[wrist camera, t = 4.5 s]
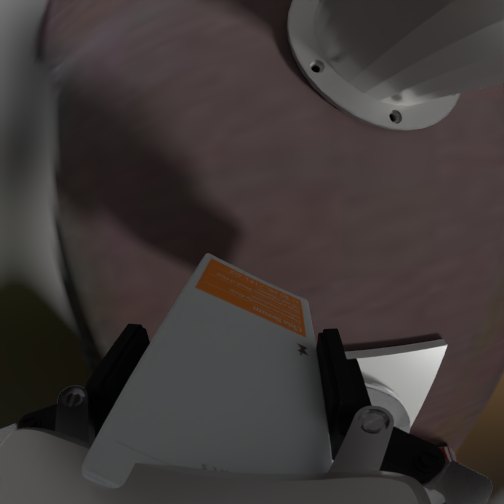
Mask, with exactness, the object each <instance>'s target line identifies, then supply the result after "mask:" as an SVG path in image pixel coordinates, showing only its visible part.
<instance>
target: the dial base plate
mask: <svg viewBox="0 0 504 504" xmlns="http://www.w3.org/2000/svg"><path fill="white" fill-rule="evenodd" d="M446 348H447V344H446V343H445V341H444V340H443V339H439V340H433V341H427V342H421V343H415V344H408V345H401V346H394V347H386V348H378V349H368V350H358V351H347V352H345V355H346V358H347V359H354V358H356V359H357V361H358V363H359V366H360V369H361V372H362V376H363V379H366V380H370V381H374V382H376V383H378V384H381V385H383V386H385V387H387V388H388V389H390V390H391V391H393V392H394V393H395V394H396V395H397V396H398V397H399V398H400V399H401V401H402V403H403V405H404V407H405V409H406V411H407V413H408V415H409V419H410V428H411V426H412V424H413V422H414V420H415V418H416V416H417V414H418V412H419V410H420V408H421V406H422V404H423V402H424V400H425V398H426V396H427V394H428V392H429V390H430V387H431V385H432V383H433V380H434V378H435V376H436V373H437V371H438V369H439V366H440V364H441V361H442V358H443V356H444V353H445V350H446Z"/></svg>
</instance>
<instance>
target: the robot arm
mask: <svg viewBox="0 0 504 504" xmlns="http://www.w3.org/2000/svg"><path fill="white" fill-rule="evenodd" d="M287 35H288V42H289V45H290V48H291V52H292V55H293V57H294V59H295V61H296V63H297V65H298V67H299V69H300V71H301V72H302V74H303V75H304V76H305V77H306V79H307V80H308V81H309V83H310V84H311V85H312V87H313V88H314V89H315V90H316V91H317V92H318V93H319V94H321V95H322V96H323V97H324V98H325V99H326V100H327V101H328V102H329V103H331V104H332V105H333V106H335V107H336V108H337V109H339V110H340V111H342V112H343V113H345V114H347V115H348V116H350V117H352V118H354V119H356V120H358V121H360V122H362V123H365V124H368V125H371V126H374V127H376V128H381V129H387V130H393V131H409V130H415V129H422V128H425V127H428V126H431V125H433V124H436V123H437V122H439V121H440V120H442V119H443V118H444V117H446V116H447V115H448V114H449V112H450V111H451V110H452V109H453V107H454V106H455V104H456V102H457V100H458V98H459V96H460V93H463V92H467V91H471V90H475V89H480V88H485V87H489V86H494V85H499V84H504V0H292V3H291V6H290V9H289V12H288V19H287ZM312 67H316V68H317V69H318V70H319V72H318V73H316V72H314V71H312V70H311V68H312ZM389 115H391V116H392V117H393V121H391V120H390V117H389ZM149 344H150V342H149V338H148V335H147V331H146V329H145V328H143V327H142V325H139V324H128V325H127V326H126V328H125V329H124V331H123V332H122V333H121V335H120V336H119V337H118V339H117V340H116V342H115V343H114V344H113V346H112V347H111V349H110V350H109V351H108V353H107V354H106V356H105V357H104V359H103V360H102V361H101V363H100V364H99V366H98V367H97V369H96V370H95V372H94V373H93V375H92V376H91V377H90V379H89V381H88V382H87V385H86V387H85V388H83V387H81V386H71V387H68V388H66V389H64V390H63V391H62V392H61V393H60V395H59V397H58V402H57V404H55V405H52V406H49V407H47V408H44V409H41V410H37V411H35V412H31V413H28V414H26V415H24V416H23V417H22V418H21V420H20V421H19V424H18V426H17V425H16V424H13V425H10V426H8V427H5V428H2V429H0V504H486V502H487V500H488V499H489V496H490V495H491V491H492V483H491V481H490V479H488V478H487V477H486V476H483V475H482V474H479V473H477V472H475V471H473V470H471V469H469V468H467V467H465V466H463V465H462V464H460V463H458V462H456V461H454V460H452V461H451V462H449V461H447V460H446V459H445V455H444V452H443V451H442V450H441V449H440V448H439V447H437V446H435V445H433V444H431V443H429V442H426V441H424V440H422V439H420V438H418V437H416V436H413V435H411V434H409V433H407V432H405V431H403V430H401V429H399V428H397V427H395V426H394V419H393V416H392V414H391V413H390V412H389V411H388V410H386V409H385V408H383V407H380V406H372V404H371V401H370V398H369V395H368V391H367V388H366V385H365V382H364V379H363V376H362V372H361V369H360V366H359V363H358V361H357V359H356V358H354V359H347V358H346V355H345V351H344V348H343V345H342V341H341V338H340V335H339V332H338V329H324V330H323V333H319V334H318V341H317V350H316V351H317V356H318V362H319V368H320V374H321V380H322V386H323V393H324V401H325V407H326V414H327V421H328V429H329V437H330V445H331V454H332V460H334V461H333V463H332V465H331V467H330V469H329V471H328V472H324V473H307V474H250V473H234V472H222V471H212V470H204V469H196V468H189V467H183V466H169V465H154V464H142V463H135V465H134V466H133V468H132V470H131V472H130V474H129V476H128V478H127V480H126V481H125V483H124V485H123V486H121V487H119V488H110V487H106V486H103V485H101V484H98V483H95V482H93V481H90V480H88V479H86V478H85V477H83V475H82V465H83V462H84V459H85V457H86V456H87V454H88V452H89V450H90V448H91V446H92V444H93V442H94V440H95V439H96V437H97V435H98V433H99V431H100V429H101V428H102V426H103V424H104V422H105V420H106V418H107V417H108V415H109V413H110V411H111V410H112V408H113V406H114V404H115V402H116V401H117V399H118V397H119V395H120V393H121V392H122V390H123V388H124V386H125V385H126V383H127V381H128V379H129V378H130V376H131V374H132V373H133V371H134V369H135V368H136V366H137V364H138V362H139V361H140V359H141V357H142V356H143V354H144V352H145V351H146V349H147V347H148V346H149Z"/></svg>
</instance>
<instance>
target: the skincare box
mask: <svg viewBox="0 0 504 504" xmlns="http://www.w3.org/2000/svg"><path fill="white" fill-rule="evenodd" d="M135 463H142V464H154V465H169V466H183V467H189V468H196V469H204V470H212V471H222V472H234V473H250V474H307V473H324V472H328V471H329V469H330V467H331V465H332V463H333V462H332V454H331V445H330V437H329V429H328V421H327V414H326V407H325V401H324V393H323V386H322V380H321V374H320V368H319V362H318V356H317V351H316V343H315V337H314V332H313V326H312V321H311V315H310V310H309V304H308V301H307V300H306V299H304V298H301V297H299V296H296V295H294V294H291V293H289V292H287V291H285V290H283V289H281V288H279V287H277V286H274V285H272V284H270V283H268V282H266V281H263V280H261V279H259V278H257V277H255V276H253V275H251V274H249V273H247V272H245V271H243V270H241V269H239V268H237V267H235V266H233V265H231V264H229V263H227V262H225V261H223V260H221V259H219V258H217V257H215V256H214V255H212V254H209V253H206V254H205V256H204V257H203V258H202V260H201V262H200V263H199V265H198V266H197V268H196V270H195V271H194V273H193V274H192V276H191V277H190V279H189V281H188V282H187V284H186V285H185V287H184V288H183V290H182V292H181V293H180V295H179V296H178V298H177V300H176V301H175V303H174V305H173V306H172V308H171V310H170V311H169V313H168V314H167V316H166V318H165V319H164V321H163V322H162V324H161V326H160V327H159V329H158V331H157V332H156V334H155V336H154V337H153V339H152V341H151V342H150V344H149V346H148V347H147V349H146V351H145V352H144V354H143V356H142V357H141V359H140V361H139V362H138V364H137V366H136V368H135V369H134V371H133V373H132V374H131V376H130V378H129V379H128V381H127V383H126V385H125V386H124V388H123V390H122V392H121V393H120V395H119V397H118V399H117V401H116V402H115V404H114V406H113V408H112V410H111V411H110V413H109V415H108V417H107V418H106V420H105V422H104V424H103V426H102V428H101V429H100V431H99V433H98V435H97V437H96V439H95V440H94V442H93V444H92V446H91V448H90V450H89V452H88V454H87V456H86V457H85V459H84V462H83V465H82V475H83V477H85V478H86V479H88V480H90V481H93V482H95V483H98V484H101V485H103V486H106V487H110V488H119V487H121V486H123V485H124V483H125V481H126V480H127V478H128V476H129V474H130V472H131V470H132V468H133V466H134V465H135Z"/></svg>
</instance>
